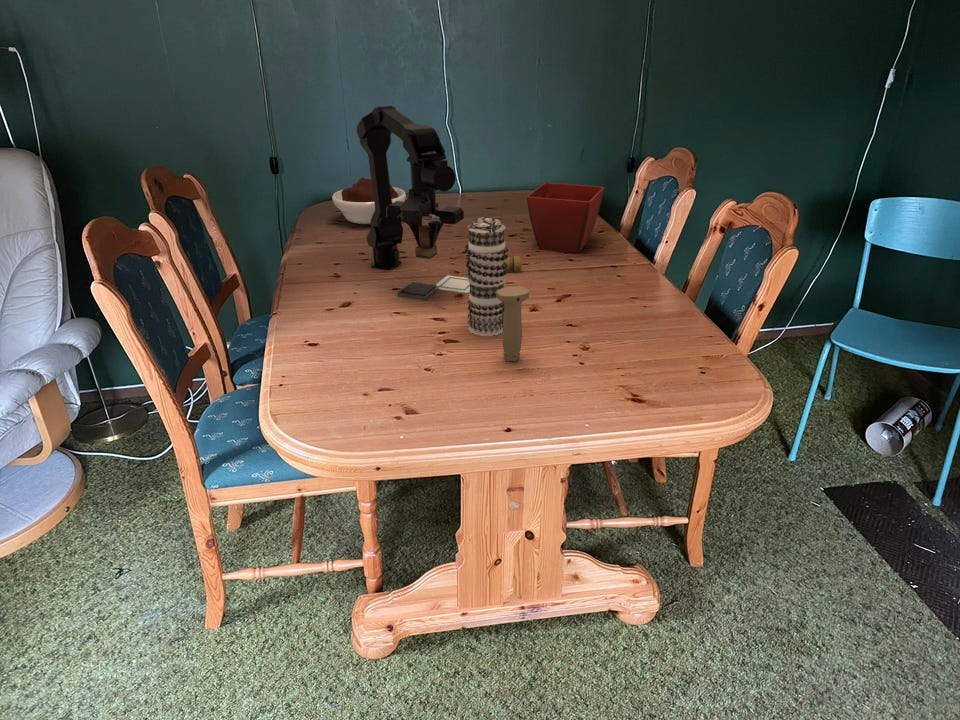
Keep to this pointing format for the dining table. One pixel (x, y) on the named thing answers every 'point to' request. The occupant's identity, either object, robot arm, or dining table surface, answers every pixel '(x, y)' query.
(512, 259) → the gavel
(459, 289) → the print card
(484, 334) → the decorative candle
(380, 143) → the robot arm
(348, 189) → the bowl of chocolate pudding
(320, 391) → the dining table surface
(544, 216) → the plant pot
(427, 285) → the ink pad
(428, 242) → the stamp
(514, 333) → the handle
